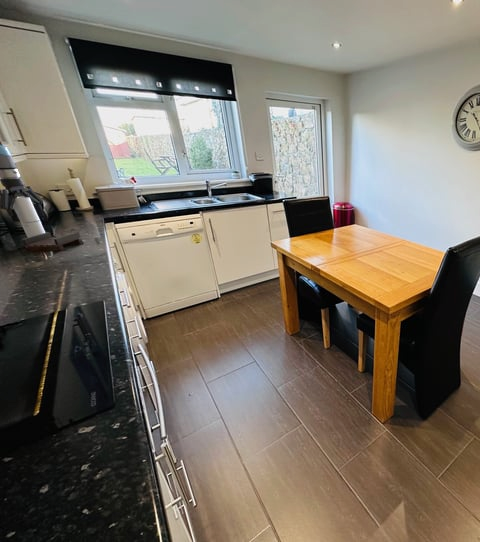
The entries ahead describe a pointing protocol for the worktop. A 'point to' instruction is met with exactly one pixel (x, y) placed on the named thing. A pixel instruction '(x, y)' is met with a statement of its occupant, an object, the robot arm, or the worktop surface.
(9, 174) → the robot arm
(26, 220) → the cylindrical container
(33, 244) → the rack
